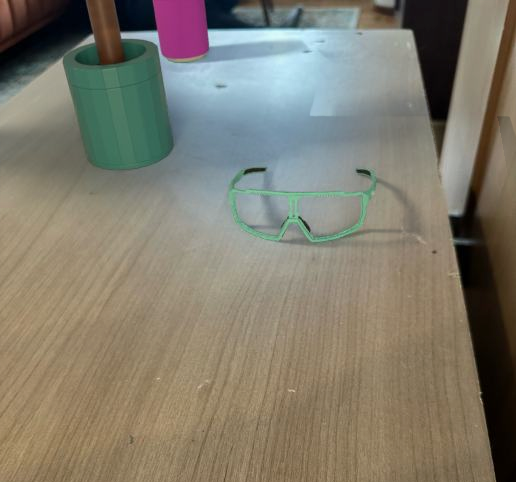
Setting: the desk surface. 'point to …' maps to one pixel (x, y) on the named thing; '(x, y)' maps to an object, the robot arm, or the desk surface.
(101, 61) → the brown wooden rod
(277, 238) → the sunglasses
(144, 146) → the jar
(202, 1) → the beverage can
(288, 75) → the desk surface
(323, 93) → the desk surface
